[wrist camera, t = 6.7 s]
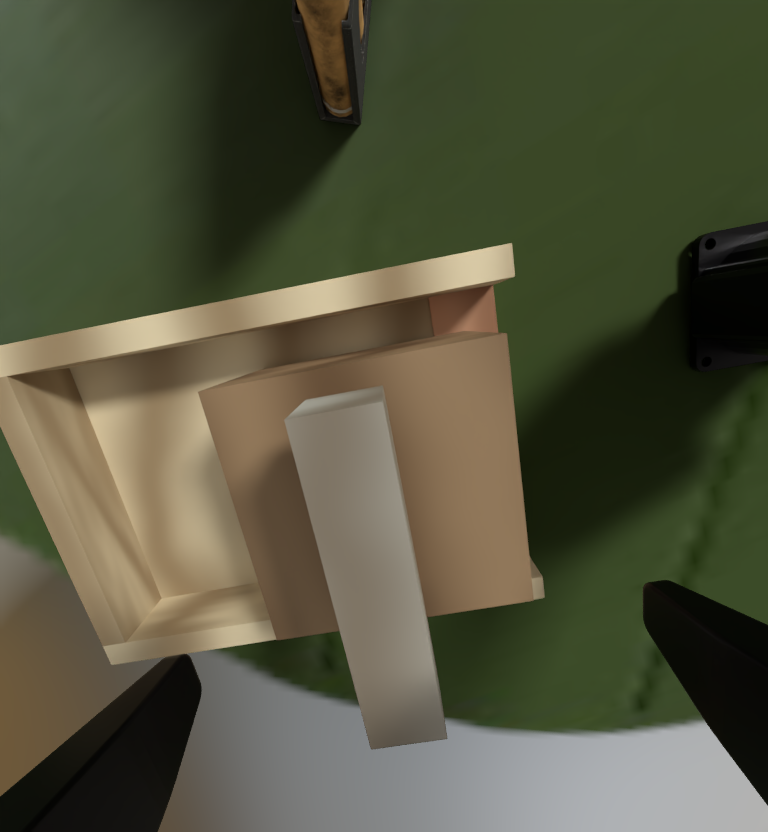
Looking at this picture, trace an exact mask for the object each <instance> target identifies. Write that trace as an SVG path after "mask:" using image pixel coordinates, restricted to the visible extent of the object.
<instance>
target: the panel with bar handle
mask: <svg viewBox="0 0 768 832" xmlns="http://www.w3.org/2000/svg"><path fill="white" fill-rule="evenodd" d="M198 394H199V398H200V401H201V404H202V407H203V410H204V413H205V416H206V420H207V423H208V426H209V429H210V432H211V435H212V438H213V442H214V445H215V448H216V451H217V454H218V457H219V460H220V463H221V467H222V470H223V473H224V476H225V479H226V482H227V485H228V489H229V492H230V495H231V498H232V501H233V504H234V507H235V511H236V514H237V517H238V520H239V523H240V526H241V529H242V533H243V536H244V539H245V542H246V545H247V548H248V551H249V555H250V558H251V561H252V564H253V567H254V570H255V573H256V577H257V580H258V583H259V586H260V589H261V592H262V595H263V599H264V602H265V605H266V608H267V611H268V614H269V617H270V621H271V624H272V627H273V630H274V633H275V636H276V639H277V640H283V639H290V638H296V637H303V636H309V635H316V634H322V633H328V632H335V631H340V633H341V637H342V641H343V645H344V649H345V652H346V656H347V660H348V664H349V668H350V671H351V675H352V679H353V683H354V686H355V690H356V694H357V698H358V702H359V705H360V709H361V713H362V716H363V721H364V724H365V728H366V732H367V736H368V740H369V743H370V747H371V749H378V748H385V747H392V746H400V745H407V744H414V743H421V742H428V741H435V740H443V739H447V733H446V726H445V720H444V713H443V707H442V700H441V694H440V687H439V681H438V674H437V668H436V662H435V657H434V652H433V646H432V641H431V636H430V631H429V625H428V620H427V617H431V616H438V615H444V614H451V613H457V612H464V611H470V610H476V609H483V608H489V607H496V606H502V605H509V604H515V603H522V602H528V601H534V597H533V587H532V577H531V568H530V558H529V548H528V538H527V528H526V518H525V508H524V498H523V488H522V478H521V468H520V459H519V449H518V439H517V429H516V419H515V409H514V399H513V389H512V379H511V369H510V359H509V350H508V340H507V333H494V332H477V331H461V332H456V333H450V334H445V335H440V336H435V337H429V338H424V339H419V340H414V341H408V342H403V343H398V344H393V345H387V346H382V347H377V348H372V349H366V350H361V351H356V352H351V353H345V354H340V355H335V356H330V357H324V358H319V359H314V360H309V361H303V362H298V363H293V364H288V365H282V366H277V367H272V368H267V369H261V370H258V371H255V372H252V373H249V374H247V375H244V376H241V377H238V378H235V379H232V380H230V381H227V382H224V383H221V384H218V385H215V386H213V387H210V388H207V389H204V390H201V391H198Z"/></svg>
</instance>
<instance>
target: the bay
mask: <svg viewBox="0 0 768 832" xmlns="http://www.w3.org/2000/svg"><path fill="white" fill-rule="evenodd" d="M512 277H515V271H514V261H513V250H512V243H510V244H505V245H500V246H495V247H490V248H485V249H480V250H475V251H470V252H465V253H460V254H455V255H450V256H445V257H440V258H435V259H430V260H425V261H420V262H415V263H410V264H405V265H400V266H395V267H390V268H385V269H380V270H375V271H370V272H365V273H360V274H355V275H350V276H345V277H340V278H335V279H330V280H325V281H320V282H315V283H310V284H305V285H300V286H295V287H290V288H285V289H280V290H275V291H270V292H265V293H260V294H255V295H250V296H245V297H240V298H235V299H230V300H225V301H220V302H215V303H210V304H205V305H200V306H195V307H190V308H185V309H180V310H175V311H170V312H165V313H160V314H155V315H150V316H145V317H140V318H135V319H130V320H125V321H120V322H115V323H110V324H105V325H100V326H95V327H90V328H85V329H80V330H75V331H70V332H65V333H60V334H55V335H50V336H45V337H40V338H35V339H30V340H25V341H20V342H15V343H10V344H5V345H0V427H1V429H2V431H3V433H4V435H5V438H6V440H7V442H8V444H9V446H10V448H11V451H12V453H13V455H14V457H15V459H16V461H17V463H18V466H19V468H20V470H21V472H22V474H23V476H24V478H25V481H26V483H27V485H28V487H29V489H30V491H31V493H32V496H33V498H34V500H35V502H36V504H37V506H38V508H39V511H40V513H41V515H42V517H43V519H44V521H45V524H46V526H47V528H48V530H49V532H50V534H51V536H52V539H53V541H54V543H55V545H56V547H57V549H58V551H59V554H60V556H61V558H62V560H63V562H64V564H65V566H66V569H67V571H68V573H69V575H70V577H71V579H72V581H73V584H74V586H75V588H76V590H77V592H78V594H79V597H80V599H81V601H82V603H83V605H84V607H85V609H86V611H87V614H88V616H89V618H90V620H91V622H92V624H93V627H94V629H95V631H96V633H97V635H98V637H99V639H100V642H101V644H102V646H103V648H104V650H105V652H106V655H107V656H108V659H109V661H110V663H111V665H115V664H122V663H128V662H135V661H142V660H148V659H154V658H161V657H167V656H172V655H178V654H187V653H193V652H199V651H206V650H212V649H219V648H225V647H232V646H238V645H244V644H251V643H257V642H264V641H270V640H277V639H276V636H275V633H274V630H273V627H272V624H271V621H270V617H269V614H268V611H267V608H266V605H265V602H264V599H263V595H262V592H261V589H260V586H259V583H258V580H257V577H256V573H255V570H254V567H253V564H252V561H251V558H250V555H249V551H248V548H247V545H246V542H245V539H244V536H243V533H242V529H241V526H240V523H239V520H238V517H237V514H236V511H235V507H234V504H233V501H232V498H231V495H230V492H229V489H228V485H227V482H226V479H225V476H224V473H223V470H222V467H221V463H220V460H219V457H218V454H217V451H216V448H215V445H214V442H213V438H212V435H211V432H210V429H209V426H208V423H207V420H206V416H205V413H204V410H203V407H202V404H201V401H200V398H199V394H198V391H201V390H204V389H207V388H210V387H213V386H215V385H218V384H221V383H224V382H227V381H230V380H232V379H235V378H238V377H241V376H244V375H247V374H249V373H252V372H255V371H258V370H261V369H267V368H272V367H277V366H282V365H288V364H293V363H298V362H303V361H309V360H314V359H319V358H324V357H330V356H335V355H340V354H345V353H351V352H356V351H361V350H366V349H372V348H377V347H382V346H387V345H393V344H398V343H403V342H408V341H414V340H419V339H424V338H429V337H435V336H440V335H445V334H450V333H456V332H461V331H477V332H494V333H498V327H497V318H496V308H495V299H494V290H493V285H494V284H497V283H499V282H502V281H504V280H507V279H510V278H512ZM529 558H530V556H529ZM530 568H531V577H532V587H533V597H534V599H540V598H545V597H544V586H543V577H542V575H541V573H540V572H539V570H538V569H537V567H536V566H535V564H534V562H533V561H532V559H531V558H530Z"/></svg>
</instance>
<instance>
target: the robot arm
mask: <svg viewBox="0 0 768 832" xmlns="http://www.w3.org/2000/svg"><path fill="white" fill-rule="evenodd" d="M706 241H707V242H708V248H707V249H706V248H705V242H706ZM703 358H704V359H705V361H704V363H703V364H701V362H702V359H703ZM762 361H768V221H767V222H762V223H756V224H751V225H746V226H741V227H736V228H731V229H726V230H721V231H716V232H711V233H707V234H704V235H701V236H699V237H698V238H697V239H695V241H694V243H693V246H692V274H691V322H690V367H691V368H692V369H693V370H695V371H702V372H707V371H712V370H718V369H723V368H729V367H734V366H740V365H746V364H751V363H757V362H762ZM643 620H644V624H645V626H646V629H647V631H648V633H649V634H650V636H651V637H652V639H653V641H654V642H655V644H656V645H657V647H658V648H659V650H660V651H661V653H662V655H663V656H664V658H665V659H666V661H667V662H668V664H669V666H670V667H671V669H672V670H673V672H674V673H675V675H676V677H677V678H678V680H679V681H680V683H681V684H682V686H683V688H684V689H685V691H686V692H687V694H688V695H689V697H690V699H691V700H692V702H693V703H694V705H695V706H696V708H697V710H698V711H699V713H700V714H701V716H702V717H703V719H704V720H705V722H706V723H707V725H708V726H709V727H710V729H711V730H712V732H713V733H714V734H715V735H716V737H717V738H718V740H719V741H720V743H721V744H722V745H723V747H724V748H725V749H726V751H727V752H728V753H729V755H730V756H731V757H732V758H733V760H734V761H735V762H736V764H737V765H738V767H739V768H740V769H741V771H742V772H743V773H744V774H745V776H746V777H747V779H748V780H749V781H750V783H751V784H752V785H753V786H754V788H755V789H756V791H757V792H758V793H759V795H760V796H761V797H762V799H763V800H764V801H765V802H766V804H767V805H768V625H767V624H764V623H762V622H760V621H758V620H756V619H753V618H751V617H749V616H747V615H745V614H742V613H740V612H738V611H736V610H734V609H731V608H729V607H727V606H725V605H722V604H720V603H718V602H716V601H714V600H711V599H709V598H707V597H705V596H703V595H700V594H698V593H696V592H694V591H692V590H689V589H687V588H685V587H683V586H681V585H678V584H676V583H674V582H671V581H668V580H661V581H655V582H648V583H646V584H645V585H644V587H643ZM200 698H201V683H200V680H199V678H198V675H197V672H196V670H195V667H194V665H193V662H192V660H191V658H190V656H189V655H187V654H178V655H172V656H168V657H165V658H164V659H162V660H161V661H160V662H159V663H158V664H157V665H155V666H154V667H153V668H152V669H151V670H150V671H148V672H147V673H146V674H145V675H143V676H142V677H141V678H140V679H139V680H137V681H136V682H135V683H134V684H133V685H132V686H130V687H129V688H128V689H127V690H126V691H125V692H123V693H122V694H121V695H120V696H119V697H118V698H116V699H115V700H114V701H113V702H111V703H110V704H109V705H108V706H107V707H106V708H104V709H103V710H102V711H101V712H100V713H98V714H97V715H96V716H95V717H94V718H93V719H91V720H90V721H89V722H88V723H87V724H86V725H84V726H83V727H82V728H81V729H80V730H78V731H77V732H76V733H75V734H74V735H72V736H71V737H70V738H69V739H68V740H67V741H65V742H64V743H63V744H62V745H61V746H59V747H58V748H57V749H56V750H55V751H54V752H52V753H51V754H50V755H49V756H48V757H46V758H45V759H44V760H43V761H42V762H41V763H40V764H38V765H37V766H36V767H35V768H33V769H32V770H31V771H30V772H29V773H28V774H26V775H25V776H24V777H23V778H22V779H20V780H19V781H18V782H17V783H16V784H15V785H13V786H12V787H11V788H10V789H9V790H7V791H6V792H5V793H4V794H3V795H2V796H0V832H158V829H159V827H160V824H161V821H162V819H163V816H164V813H165V810H166V808H167V805H168V802H169V800H170V797H171V794H172V791H173V788H174V784H175V781H176V778H177V775H178V771H179V768H180V765H181V762H182V758H183V755H184V752H185V748H186V745H187V742H188V738H189V735H190V731H191V728H192V725H193V722H194V718H195V715H196V712H197V708H198V705H199V702H200Z"/></svg>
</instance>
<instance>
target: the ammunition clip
mask: <svg viewBox="0 0 768 832" xmlns="http://www.w3.org/2000/svg"><path fill="white" fill-rule="evenodd" d="M370 12H371V0H292V21H293V24H294V28H295V32H296V35H297V39H298V42H299V46H300V49H301V53H302V57H303V60H304V64H305V67H306V71H307V74H308V78H309V82H310V85H311V89H312V92H313V96H314V100H315V103H316V107H317V111H318V114H319V118H320V119H321V120H326V121H334V122H341V123H349V124H356V125H359V124H361V118H362V106H363V94H364V83H365V71H366V59H367V47H368V36H369V24H370Z"/></svg>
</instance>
